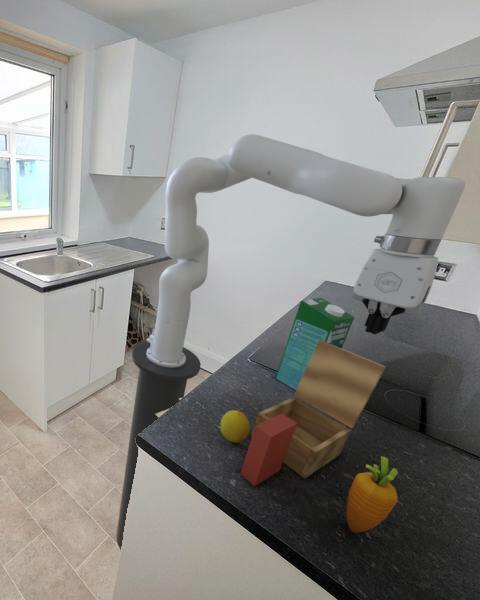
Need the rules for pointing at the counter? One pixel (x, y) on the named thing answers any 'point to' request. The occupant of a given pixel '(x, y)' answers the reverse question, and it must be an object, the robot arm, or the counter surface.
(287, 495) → the counter surface
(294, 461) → the chest
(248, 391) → the counter surface
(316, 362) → the wooden slab
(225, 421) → the lemon
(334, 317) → the milk carton
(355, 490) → the carrot
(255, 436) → the brick
